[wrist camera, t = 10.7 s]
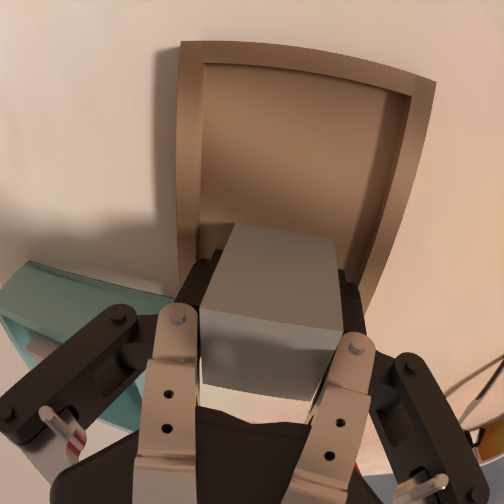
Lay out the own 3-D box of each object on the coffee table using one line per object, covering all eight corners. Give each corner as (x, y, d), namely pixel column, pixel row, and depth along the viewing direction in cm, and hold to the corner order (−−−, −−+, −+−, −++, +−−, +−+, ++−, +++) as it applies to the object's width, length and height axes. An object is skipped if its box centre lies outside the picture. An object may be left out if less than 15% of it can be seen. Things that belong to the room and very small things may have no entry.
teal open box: (28, 261, 17) (-11, 301, 13) (173, 298, 16) (141, 362, 12) (72, 361, 24) (50, 398, 20) (187, 400, 23) (171, 446, 19)
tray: (192, 43, 9) (180, 41, 8) (424, 80, 9) (436, 82, 8) (189, 303, 16) (182, 318, 15) (348, 329, 16) (349, 346, 15)
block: (235, 222, 12) (199, 307, 8) (333, 238, 12) (343, 331, 8) (230, 296, 15) (202, 383, 10) (313, 310, 14) (310, 401, 10)
